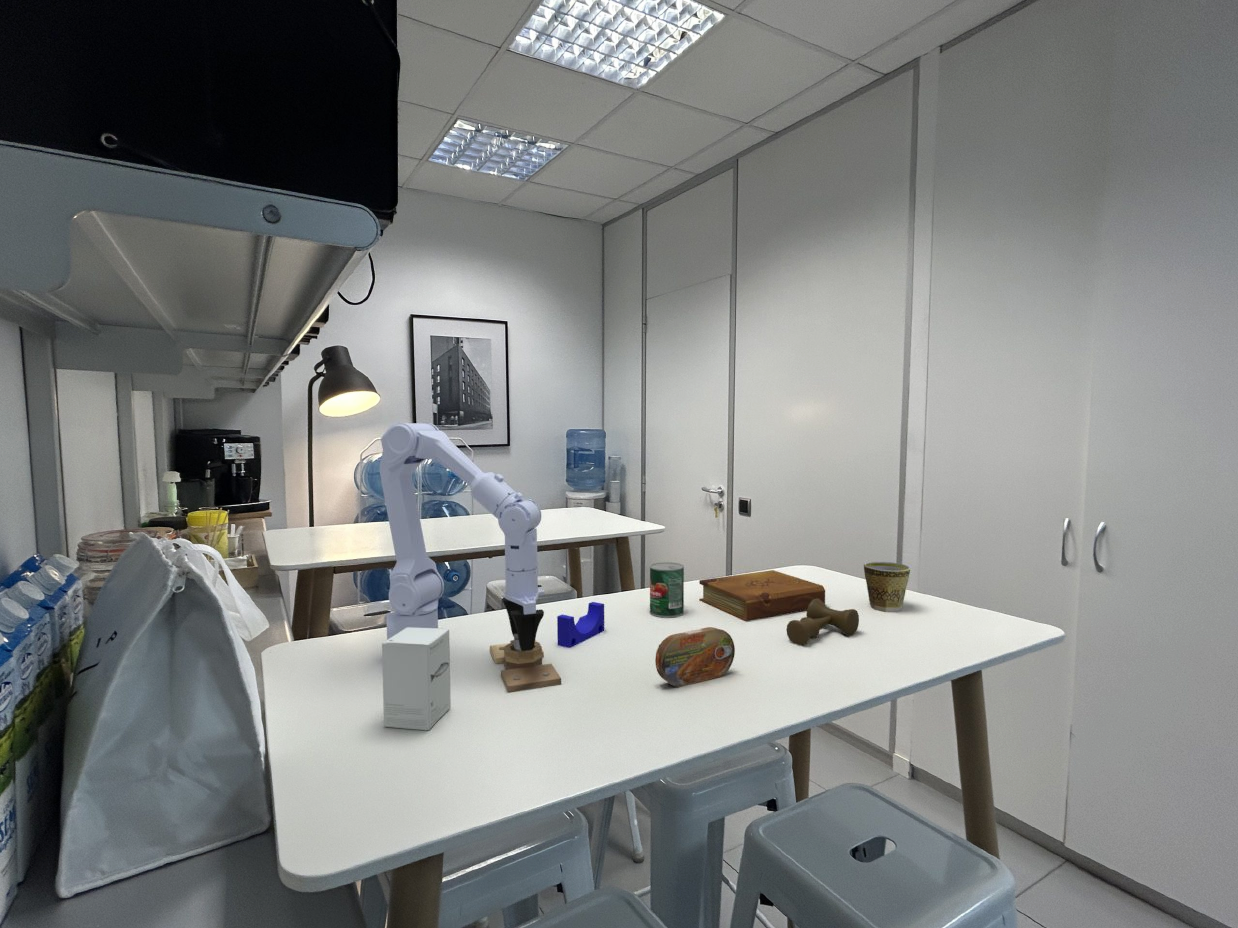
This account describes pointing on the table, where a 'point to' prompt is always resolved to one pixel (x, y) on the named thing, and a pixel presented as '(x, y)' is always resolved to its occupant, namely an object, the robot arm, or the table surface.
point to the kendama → (821, 622)
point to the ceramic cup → (886, 585)
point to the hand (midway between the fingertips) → (522, 642)
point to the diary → (760, 594)
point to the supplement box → (416, 678)
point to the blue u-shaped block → (580, 626)
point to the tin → (694, 656)
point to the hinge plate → (529, 675)
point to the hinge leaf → (515, 653)
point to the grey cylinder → (517, 643)
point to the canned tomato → (666, 589)
